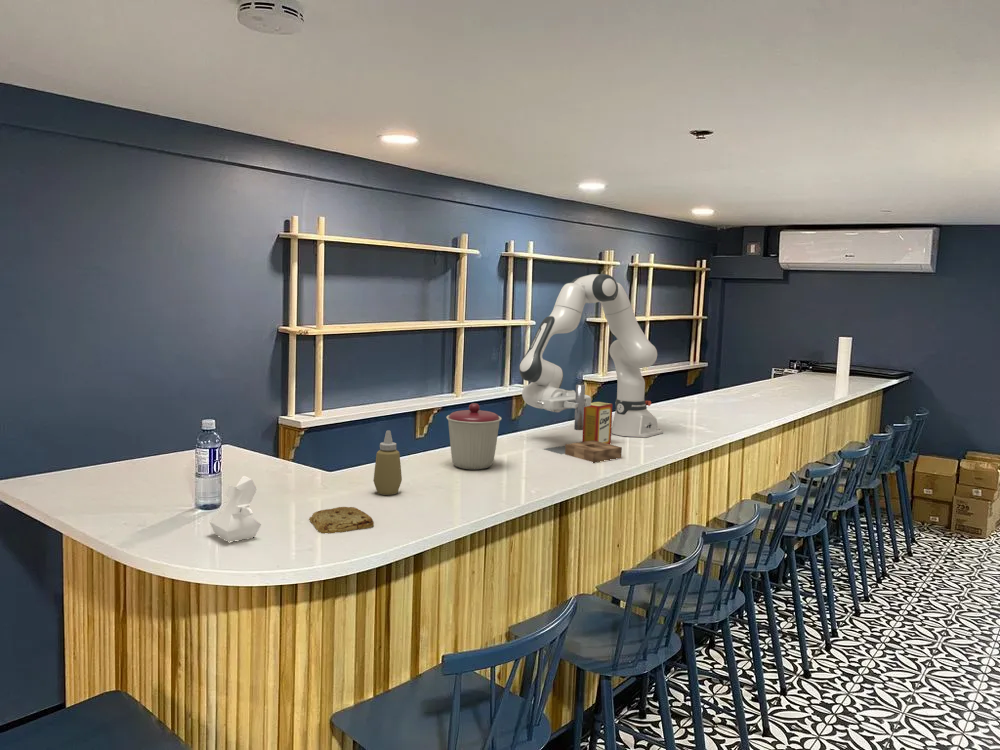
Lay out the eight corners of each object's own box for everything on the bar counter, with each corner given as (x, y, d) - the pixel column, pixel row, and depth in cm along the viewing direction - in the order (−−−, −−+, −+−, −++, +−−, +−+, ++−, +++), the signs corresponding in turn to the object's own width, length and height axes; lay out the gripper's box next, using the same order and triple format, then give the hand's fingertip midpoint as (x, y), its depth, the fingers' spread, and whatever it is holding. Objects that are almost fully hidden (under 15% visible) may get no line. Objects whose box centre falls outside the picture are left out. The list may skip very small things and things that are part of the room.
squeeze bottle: (389, 498, 221) (390, 434, 219) (367, 493, 225) (367, 431, 223) (407, 492, 228) (408, 430, 225) (385, 487, 232) (386, 427, 230)
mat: (566, 446, 297) (566, 445, 297) (585, 451, 289) (585, 450, 289) (542, 450, 290) (542, 448, 290) (561, 455, 282) (561, 454, 282)
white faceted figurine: (232, 548, 177) (231, 488, 175) (205, 533, 187) (204, 476, 185) (267, 540, 183) (266, 482, 181) (239, 526, 193) (238, 471, 191)
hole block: (592, 451, 291) (593, 440, 290) (621, 458, 280) (621, 447, 279) (565, 455, 282) (565, 444, 281) (593, 463, 271) (593, 451, 270)
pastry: (327, 511, 208) (327, 500, 208) (387, 519, 203) (387, 507, 203) (291, 531, 192) (291, 519, 191) (356, 539, 187) (356, 527, 186)
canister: (433, 465, 261) (435, 402, 258) (472, 457, 274) (474, 397, 271) (472, 476, 249) (474, 409, 246) (511, 467, 262) (513, 404, 259)
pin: (578, 428, 286) (580, 384, 284) (585, 429, 284) (586, 385, 282) (572, 429, 285) (574, 384, 283) (578, 430, 282) (580, 386, 280)
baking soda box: (596, 447, 297) (598, 405, 295) (582, 444, 302) (583, 403, 300) (610, 444, 304) (612, 402, 302) (596, 441, 309) (598, 400, 307)
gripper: (534, 393, 286) (560, 398, 276) (575, 389, 299) (601, 394, 288) (533, 410, 287) (559, 416, 276) (574, 406, 300) (601, 411, 289)
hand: (581, 405), depth 282 cm, fingers closed on pin, 3 cm apart
